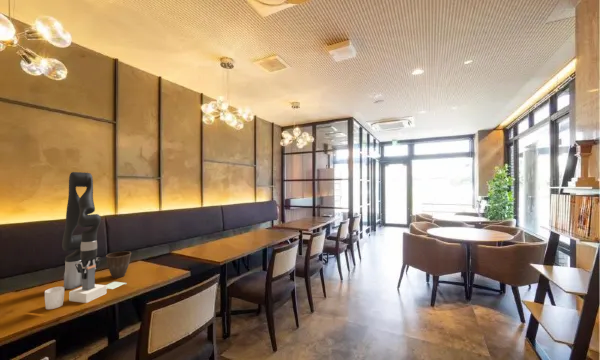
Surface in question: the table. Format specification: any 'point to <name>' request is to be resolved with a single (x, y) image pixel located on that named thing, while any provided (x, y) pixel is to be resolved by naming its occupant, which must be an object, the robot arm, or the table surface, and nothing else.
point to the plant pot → (118, 263)
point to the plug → (89, 278)
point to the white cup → (54, 297)
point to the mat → (114, 285)
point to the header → (87, 293)
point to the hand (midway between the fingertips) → (88, 277)
